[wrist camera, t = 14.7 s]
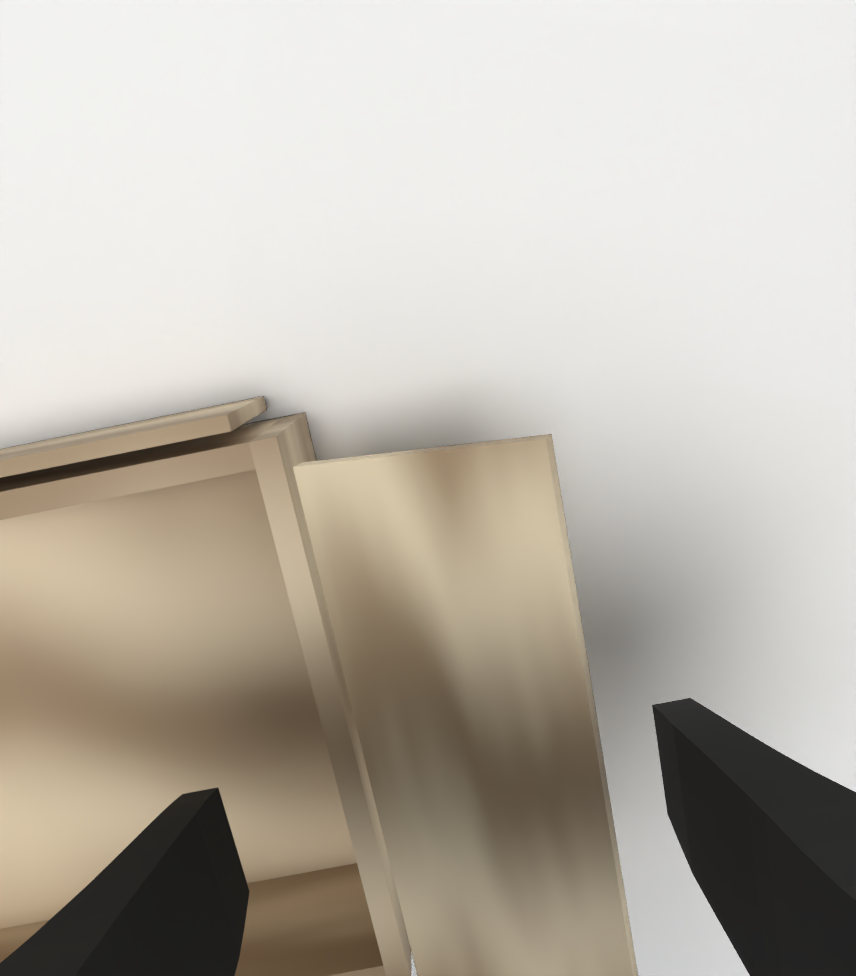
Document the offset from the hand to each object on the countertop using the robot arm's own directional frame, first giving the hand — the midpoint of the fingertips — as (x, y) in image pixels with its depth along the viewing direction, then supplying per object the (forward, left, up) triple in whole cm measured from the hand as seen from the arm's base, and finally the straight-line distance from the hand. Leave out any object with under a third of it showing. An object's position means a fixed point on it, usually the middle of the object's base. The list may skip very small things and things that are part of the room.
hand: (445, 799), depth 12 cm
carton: (0, +9, -6) cm, 11 cm away
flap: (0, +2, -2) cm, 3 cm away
